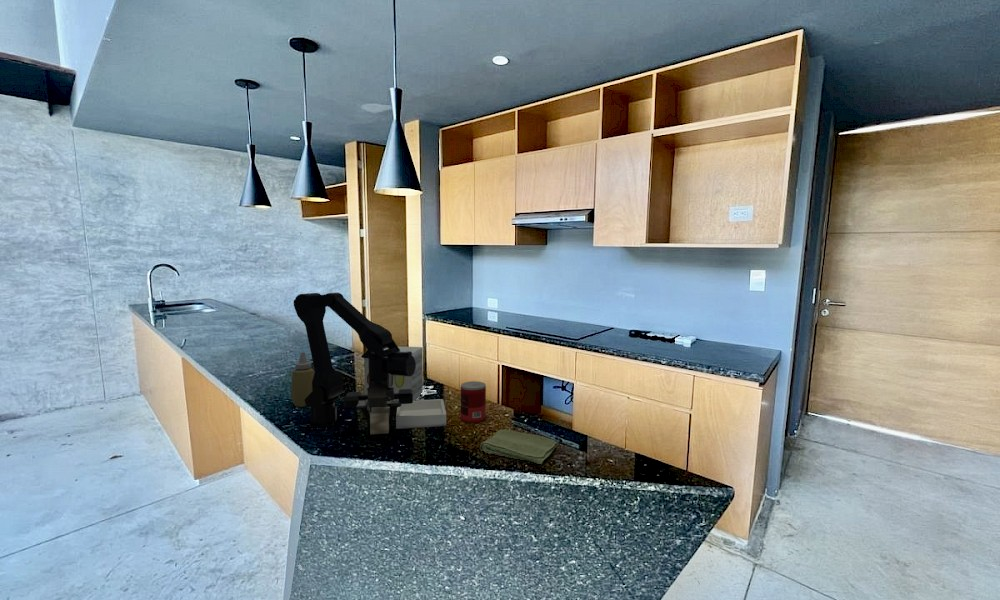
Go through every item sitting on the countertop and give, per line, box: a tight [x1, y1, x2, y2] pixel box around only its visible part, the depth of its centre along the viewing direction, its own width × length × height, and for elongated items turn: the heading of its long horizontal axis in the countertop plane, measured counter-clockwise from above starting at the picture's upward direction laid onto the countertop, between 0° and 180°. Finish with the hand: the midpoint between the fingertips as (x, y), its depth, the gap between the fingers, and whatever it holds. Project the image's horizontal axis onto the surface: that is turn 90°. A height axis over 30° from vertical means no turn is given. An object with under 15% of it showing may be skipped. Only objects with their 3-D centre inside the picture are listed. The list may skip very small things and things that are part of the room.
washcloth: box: [479, 428, 558, 465], centre depth 107 cm, size 13×18×3 cm
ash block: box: [369, 406, 390, 435], centre depth 118 cm, size 5×5×6 cm
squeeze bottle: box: [290, 351, 315, 408], centre depth 139 cm, size 8×8×18 cm
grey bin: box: [395, 398, 447, 430], centre depth 128 cm, size 15×15×4 cm
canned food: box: [460, 380, 487, 424], centre depth 128 cm, size 8×8×11 cm
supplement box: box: [364, 345, 424, 405], centre depth 147 cm, size 17×13×18 cm
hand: (380, 427), depth 118 cm, fingers closed on ash block, 5 cm apart
